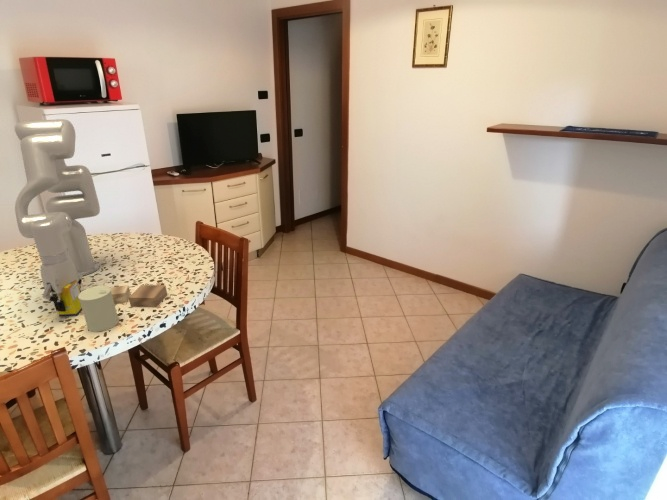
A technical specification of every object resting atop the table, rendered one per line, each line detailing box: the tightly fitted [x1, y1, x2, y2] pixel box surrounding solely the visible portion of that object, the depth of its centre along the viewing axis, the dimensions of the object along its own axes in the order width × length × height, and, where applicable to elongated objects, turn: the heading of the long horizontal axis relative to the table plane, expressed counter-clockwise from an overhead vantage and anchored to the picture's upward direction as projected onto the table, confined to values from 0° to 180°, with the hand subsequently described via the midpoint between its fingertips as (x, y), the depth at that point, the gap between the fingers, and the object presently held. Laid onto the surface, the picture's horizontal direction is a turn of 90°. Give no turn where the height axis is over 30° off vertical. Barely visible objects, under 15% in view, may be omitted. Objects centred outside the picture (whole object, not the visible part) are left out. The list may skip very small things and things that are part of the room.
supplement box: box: [53, 280, 83, 318], centre depth 137 cm, size 6×6×11 cm
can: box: [78, 285, 120, 333], centre depth 130 cm, size 9×9×12 cm
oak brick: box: [109, 284, 132, 305], centre depth 146 cm, size 6×6×4 cm
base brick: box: [128, 284, 168, 308], centre depth 145 cm, size 9×9×4 cm
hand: (69, 304), depth 138 cm, fingers closed on supplement box, 6 cm apart
